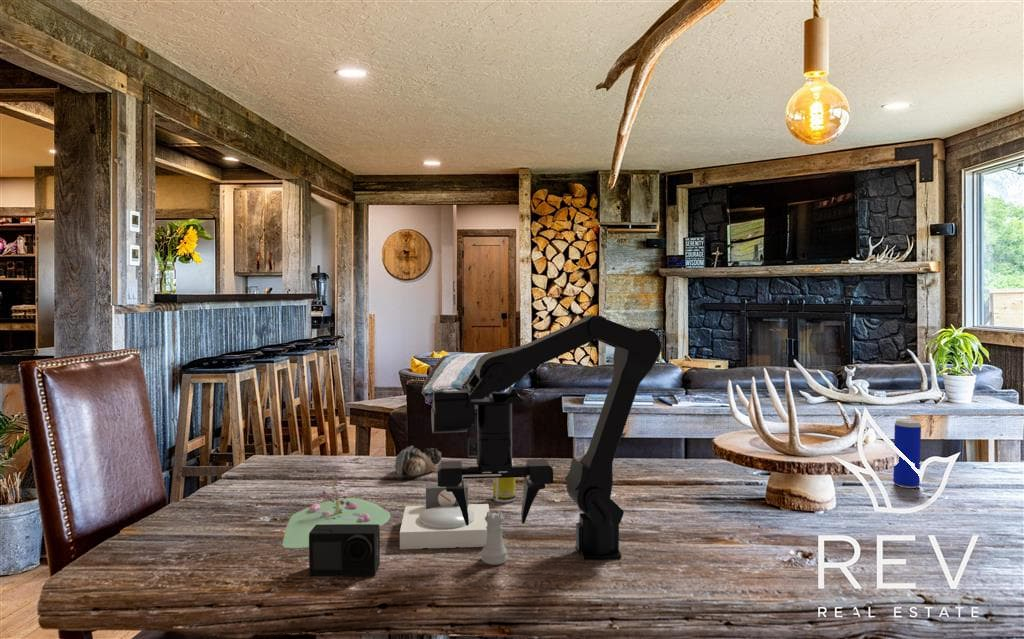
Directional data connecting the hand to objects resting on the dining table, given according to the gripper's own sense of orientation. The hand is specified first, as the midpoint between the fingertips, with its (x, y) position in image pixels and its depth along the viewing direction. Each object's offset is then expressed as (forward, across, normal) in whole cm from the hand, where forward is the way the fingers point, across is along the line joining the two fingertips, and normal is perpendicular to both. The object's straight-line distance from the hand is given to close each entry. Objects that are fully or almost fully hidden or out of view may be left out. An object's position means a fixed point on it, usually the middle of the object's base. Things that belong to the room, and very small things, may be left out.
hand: (495, 523), depth 112 cm
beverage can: (+7, -96, -34) cm, 102 cm away
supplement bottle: (+6, -4, -32) cm, 33 cm away
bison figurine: (+6, +15, -53) cm, 56 cm away
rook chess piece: (+6, 0, 0) cm, 6 cm away
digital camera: (+6, +24, +3) cm, 25 cm away
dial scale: (+6, +8, -13) cm, 16 cm away
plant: (+7, +30, -20) cm, 37 cm away
